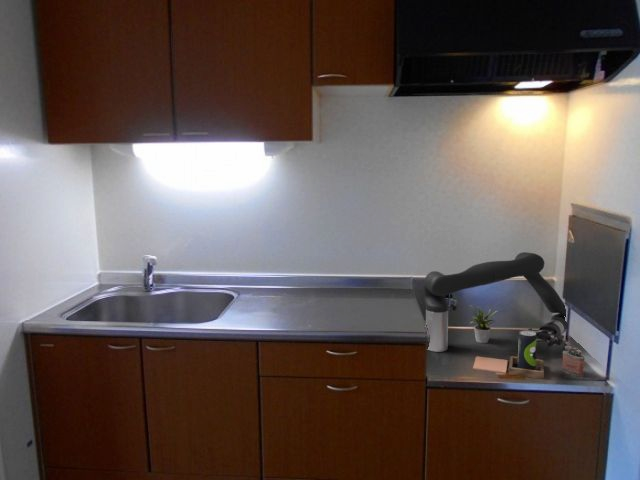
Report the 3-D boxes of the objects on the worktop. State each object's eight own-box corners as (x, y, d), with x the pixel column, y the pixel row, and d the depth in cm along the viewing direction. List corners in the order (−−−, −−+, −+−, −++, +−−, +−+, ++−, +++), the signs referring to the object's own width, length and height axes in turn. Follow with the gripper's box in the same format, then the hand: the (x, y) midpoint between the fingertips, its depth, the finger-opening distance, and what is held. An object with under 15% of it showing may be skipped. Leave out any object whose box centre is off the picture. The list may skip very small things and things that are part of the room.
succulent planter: (585, 376, 184) (587, 350, 183) (579, 378, 183) (581, 352, 181) (565, 368, 191) (566, 343, 190) (559, 370, 190) (561, 345, 188)
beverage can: (515, 366, 194) (517, 329, 192) (532, 367, 193) (534, 330, 190) (519, 373, 188) (521, 335, 185) (536, 374, 187) (538, 336, 184)
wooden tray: (508, 374, 187) (508, 367, 187) (510, 362, 198) (510, 356, 198) (543, 379, 183) (543, 372, 182) (543, 366, 194) (543, 360, 193)
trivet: (472, 369, 192) (472, 367, 192) (476, 357, 203) (476, 356, 203) (505, 373, 188) (505, 372, 188) (507, 361, 199) (507, 360, 198)
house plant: (455, 339, 223) (456, 304, 221) (474, 332, 232) (475, 298, 229) (483, 349, 212) (484, 312, 209) (502, 341, 220) (503, 305, 218)
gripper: (534, 318, 212) (519, 329, 201) (570, 325, 203) (556, 337, 191) (534, 335, 213) (519, 346, 202) (569, 343, 204) (555, 355, 192)
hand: (537, 342), depth 196 cm, fingers open, 8 cm apart
